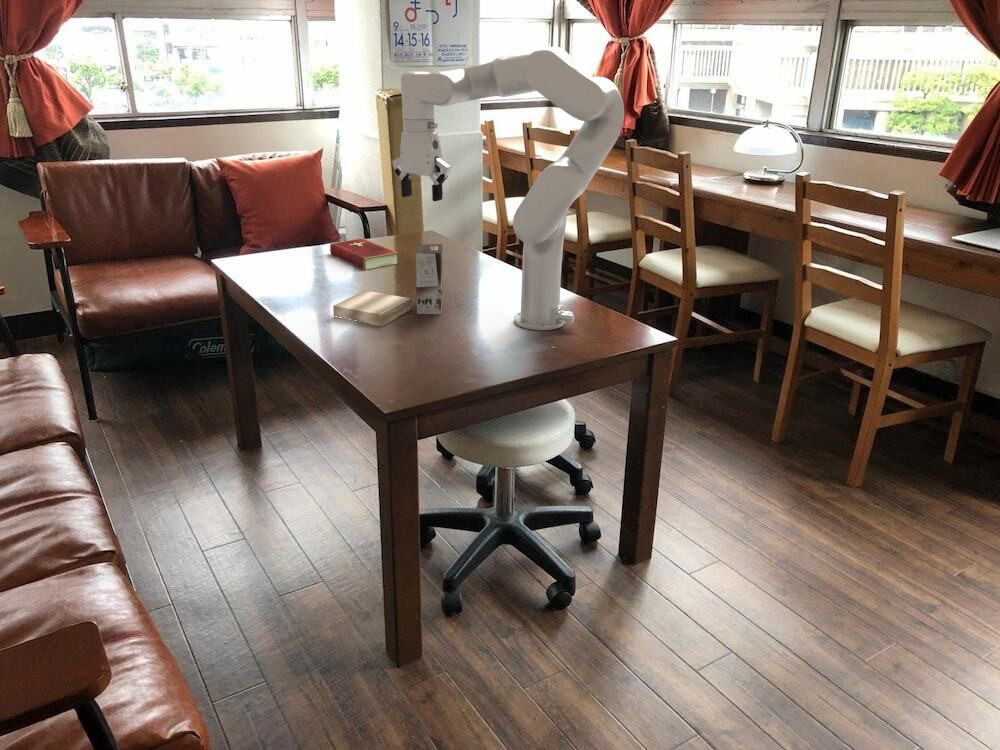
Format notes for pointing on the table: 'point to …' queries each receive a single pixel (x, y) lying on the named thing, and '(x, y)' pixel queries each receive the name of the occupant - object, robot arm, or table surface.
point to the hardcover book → (364, 253)
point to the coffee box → (429, 279)
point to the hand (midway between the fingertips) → (422, 198)
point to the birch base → (372, 307)
